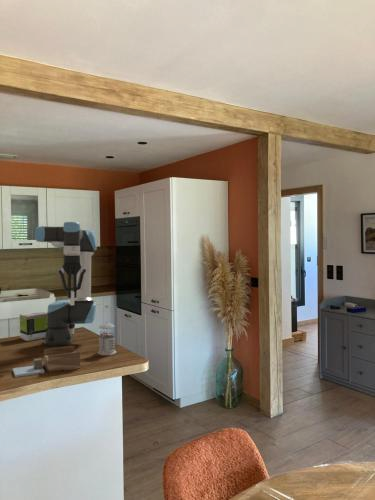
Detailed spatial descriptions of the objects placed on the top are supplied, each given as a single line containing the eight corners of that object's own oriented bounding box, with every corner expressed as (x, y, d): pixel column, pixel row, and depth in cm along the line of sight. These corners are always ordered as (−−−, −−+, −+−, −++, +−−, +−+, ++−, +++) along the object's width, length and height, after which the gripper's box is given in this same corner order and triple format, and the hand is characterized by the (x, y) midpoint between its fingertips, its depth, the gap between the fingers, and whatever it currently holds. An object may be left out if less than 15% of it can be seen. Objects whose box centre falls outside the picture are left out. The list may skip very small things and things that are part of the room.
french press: (119, 350, 219) (119, 303, 219) (109, 356, 208) (109, 307, 207) (102, 349, 222) (102, 303, 221) (92, 355, 211) (92, 306, 210)
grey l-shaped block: (12, 371, 186) (12, 359, 186) (40, 367, 192) (40, 356, 192) (15, 378, 177) (15, 365, 177) (44, 374, 183) (44, 361, 183)
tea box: (43, 334, 256) (43, 310, 255) (51, 337, 249) (51, 312, 248) (19, 338, 245) (19, 313, 245) (26, 341, 238) (26, 316, 238)
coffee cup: (76, 335, 252) (76, 311, 252) (59, 336, 250) (59, 312, 249) (75, 332, 262) (75, 308, 262) (59, 333, 259) (59, 309, 259)
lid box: (44, 365, 194) (44, 349, 194) (74, 361, 200) (74, 345, 200) (48, 372, 183) (48, 355, 183) (80, 368, 190) (80, 351, 190)
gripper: (59, 255, 187) (59, 307, 188) (87, 254, 193) (87, 305, 194) (56, 254, 194) (56, 304, 194) (83, 254, 200) (84, 302, 201)
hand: (72, 304), depth 194 cm, fingers closed
